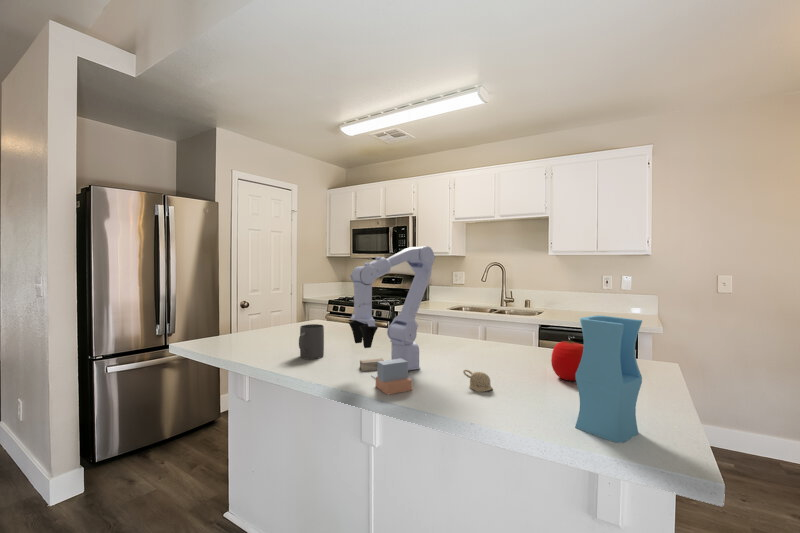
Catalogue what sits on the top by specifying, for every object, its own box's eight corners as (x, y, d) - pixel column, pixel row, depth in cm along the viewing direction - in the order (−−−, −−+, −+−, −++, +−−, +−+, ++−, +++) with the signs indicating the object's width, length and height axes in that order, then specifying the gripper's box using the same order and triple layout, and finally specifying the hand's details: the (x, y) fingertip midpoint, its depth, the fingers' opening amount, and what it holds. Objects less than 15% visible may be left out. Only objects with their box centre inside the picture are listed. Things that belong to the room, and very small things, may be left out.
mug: (307, 353, 155) (307, 323, 154) (328, 354, 152) (328, 324, 152) (288, 361, 142) (288, 329, 141) (310, 363, 139) (310, 330, 139)
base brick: (399, 382, 118) (399, 372, 118) (411, 390, 111) (412, 379, 111) (375, 386, 114) (375, 376, 114) (387, 394, 107) (387, 384, 107)
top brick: (401, 374, 116) (401, 358, 116) (407, 378, 112) (407, 361, 112) (377, 378, 112) (377, 361, 112) (383, 382, 109) (383, 364, 108)
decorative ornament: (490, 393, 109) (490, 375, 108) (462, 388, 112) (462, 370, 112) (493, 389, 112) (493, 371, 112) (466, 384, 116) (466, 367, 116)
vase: (620, 444, 79) (622, 324, 78) (574, 427, 87) (576, 318, 86) (641, 432, 84) (642, 320, 84) (596, 417, 92) (598, 314, 92)
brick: (359, 368, 134) (359, 360, 134) (381, 366, 136) (381, 358, 136) (362, 371, 130) (362, 362, 130) (384, 369, 133) (384, 361, 133)
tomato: (554, 371, 130) (554, 335, 130) (592, 377, 124) (592, 339, 124) (547, 381, 119) (548, 341, 119) (588, 388, 113) (589, 346, 113)
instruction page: (392, 372, 128) (392, 371, 128) (401, 377, 123) (401, 376, 123) (371, 375, 124) (371, 374, 124) (379, 381, 119) (379, 380, 119)
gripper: (343, 301, 127) (343, 342, 127) (360, 306, 114) (359, 351, 114) (362, 300, 130) (362, 340, 131) (381, 305, 118) (381, 348, 118)
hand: (362, 345), depth 123 cm, fingers open, 7 cm apart
